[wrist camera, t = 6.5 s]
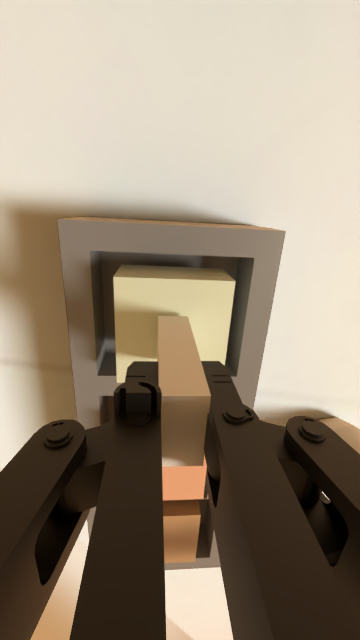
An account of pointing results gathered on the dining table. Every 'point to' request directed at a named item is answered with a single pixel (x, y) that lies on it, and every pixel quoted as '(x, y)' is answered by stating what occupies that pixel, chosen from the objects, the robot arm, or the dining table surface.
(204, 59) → the dining table surface
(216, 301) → the cream square block
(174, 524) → the walnut key
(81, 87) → the dining table surface
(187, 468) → the terracotta key
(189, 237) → the key panel
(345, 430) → the salt shaker
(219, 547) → the robot arm
